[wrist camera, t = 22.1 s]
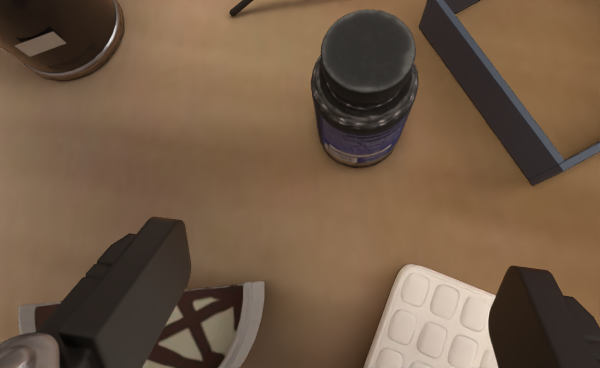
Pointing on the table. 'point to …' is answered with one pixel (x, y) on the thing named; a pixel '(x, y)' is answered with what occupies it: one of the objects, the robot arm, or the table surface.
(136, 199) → the table surface
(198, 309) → the food container
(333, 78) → the pill bottle
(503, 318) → the robot arm
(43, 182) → the table surface
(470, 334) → the calculator
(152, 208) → the table surface
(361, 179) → the table surface
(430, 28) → the fence
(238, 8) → the glasses
